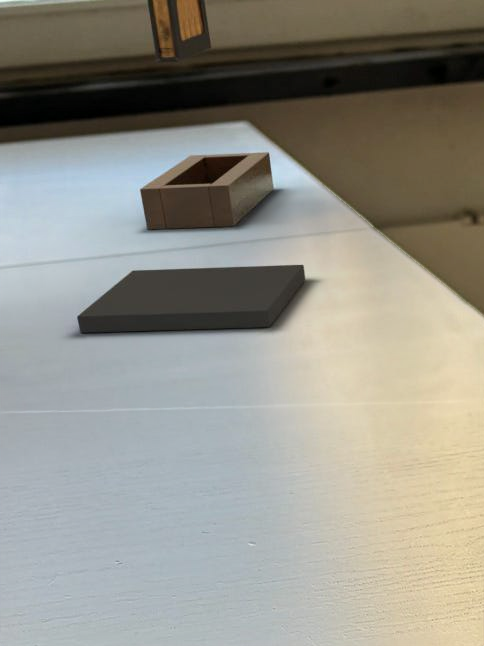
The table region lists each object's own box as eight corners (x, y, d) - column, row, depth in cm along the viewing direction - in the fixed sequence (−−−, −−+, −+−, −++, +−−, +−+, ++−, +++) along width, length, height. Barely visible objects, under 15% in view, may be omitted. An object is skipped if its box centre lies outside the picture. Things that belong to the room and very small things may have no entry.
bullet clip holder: (147, 229, 109) (139, 189, 107) (195, 192, 122) (190, 155, 120) (234, 226, 109) (228, 185, 107) (273, 189, 121) (269, 152, 120)
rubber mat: (80, 333, 84) (76, 316, 83) (135, 285, 93) (132, 270, 93) (269, 327, 83) (267, 310, 82) (305, 279, 92) (303, 264, 92)
